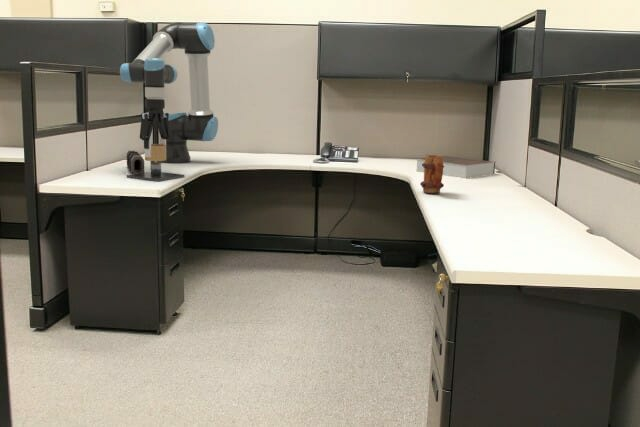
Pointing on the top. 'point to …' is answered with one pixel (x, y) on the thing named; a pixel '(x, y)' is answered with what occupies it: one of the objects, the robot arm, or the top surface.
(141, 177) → the dark piece
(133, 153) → the tube
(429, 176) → the mug
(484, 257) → the top surface
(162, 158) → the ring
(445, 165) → the book
